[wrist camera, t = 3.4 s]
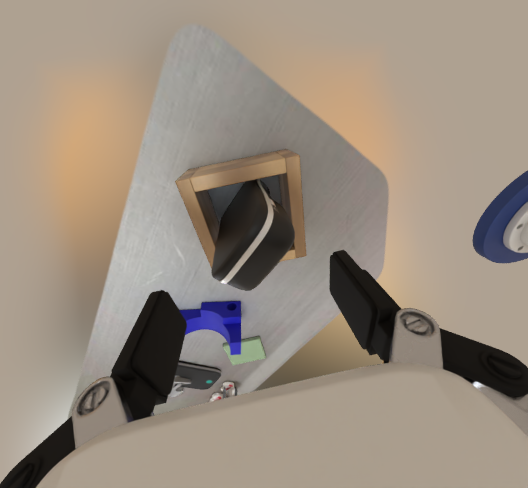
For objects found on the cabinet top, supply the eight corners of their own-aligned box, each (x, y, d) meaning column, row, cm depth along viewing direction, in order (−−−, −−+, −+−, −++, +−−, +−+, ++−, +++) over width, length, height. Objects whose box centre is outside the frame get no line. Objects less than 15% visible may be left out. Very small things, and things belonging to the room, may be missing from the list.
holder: (286, 148, 20) (299, 154, 16) (295, 234, 25) (306, 256, 21) (188, 169, 20) (174, 181, 16) (218, 250, 25) (214, 275, 21)
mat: (259, 335, 36) (259, 338, 36) (265, 355, 40) (265, 358, 39) (223, 343, 36) (222, 346, 36) (232, 362, 40) (232, 365, 39)
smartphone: (208, 390, 43) (135, 380, 37) (208, 386, 44) (137, 375, 38) (223, 374, 40) (147, 360, 34) (223, 369, 41) (149, 355, 35)
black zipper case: (245, 235, 25) (250, 306, 15) (219, 220, 23) (205, 288, 13) (278, 190, 22) (311, 241, 12) (251, 170, 21) (263, 210, 11)
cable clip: (240, 301, 31) (241, 335, 26) (240, 319, 33) (240, 354, 28) (161, 304, 29) (144, 341, 24) (166, 323, 31) (153, 361, 26)
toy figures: (225, 378, 43) (223, 428, 36) (243, 381, 45) (244, 429, 38) (205, 402, 48) (199, 449, 41) (221, 403, 49) (219, 449, 42)
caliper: (196, 369, 41) (173, 373, 38) (197, 383, 40) (174, 388, 36) (133, 415, 51) (110, 422, 48) (132, 427, 50) (109, 435, 46)
